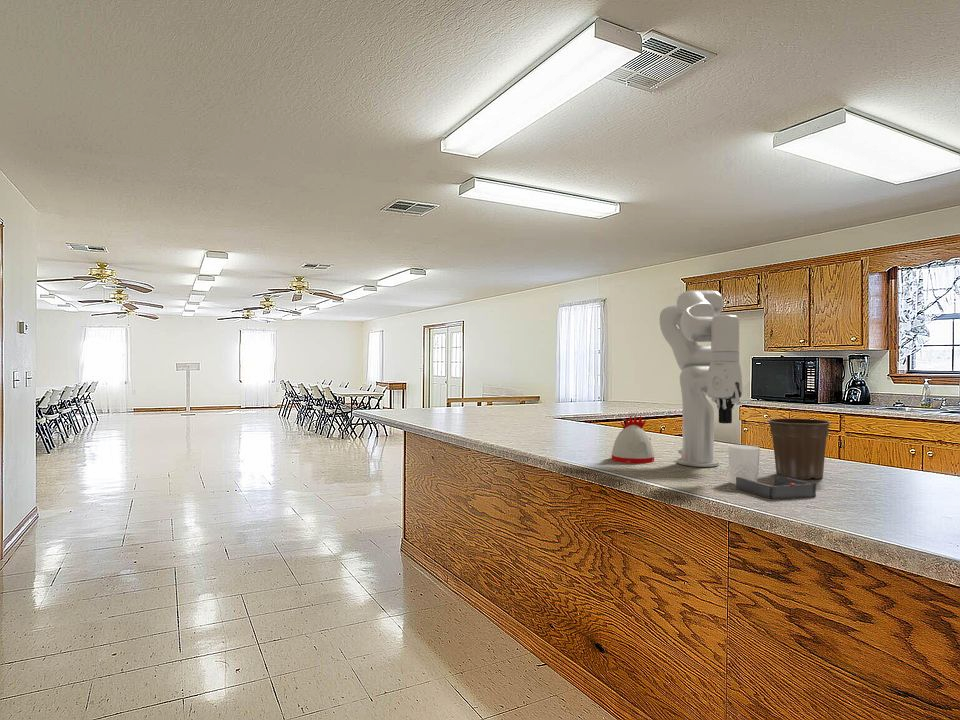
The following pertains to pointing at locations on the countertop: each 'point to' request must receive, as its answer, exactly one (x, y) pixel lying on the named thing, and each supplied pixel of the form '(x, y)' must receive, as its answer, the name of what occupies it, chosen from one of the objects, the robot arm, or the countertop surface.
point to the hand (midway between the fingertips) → (725, 423)
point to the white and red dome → (633, 444)
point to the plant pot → (799, 447)
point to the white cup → (743, 462)
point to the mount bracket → (778, 488)
